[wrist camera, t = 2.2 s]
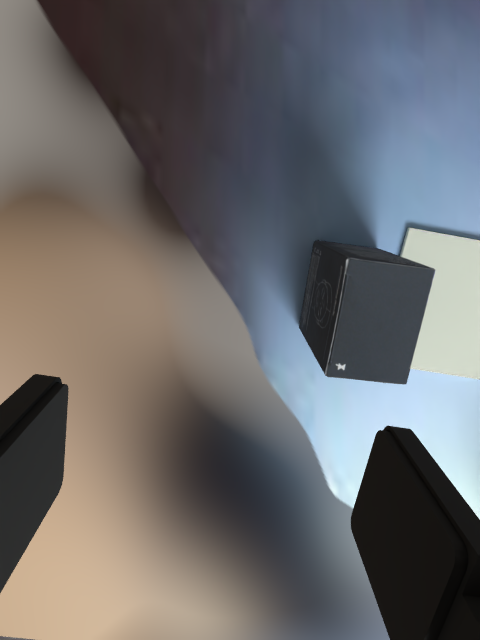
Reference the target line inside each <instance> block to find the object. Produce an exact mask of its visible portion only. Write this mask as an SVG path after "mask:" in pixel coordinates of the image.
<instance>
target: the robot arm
mask: <svg viewBox="0 0 480 640" xmlns="http://www.w3.org/2000/svg"><path fill="white" fill-rule="evenodd" d="M67 405H68V386H67V385H66V384H62V382H61V379H60V378H59V377H52V376H46V375H39V374H35V375H33V376H32V377H31V378H30V379H29V380H27V381H26V382H25V383H24V384H23V385H22V386H21V387H20V388H19V389H18V390H16V391H15V392H14V393H13V394H12V395H11V396H10V397H9V398H8V399H7V400H5V401H4V402H3V403H2V404H1V405H0V593H1V591H2V589H3V588H4V586H5V584H6V582H7V580H8V579H9V577H10V576H11V573H12V572H13V570H14V569H15V567H16V565H17V563H18V562H19V560H20V558H21V557H22V555H23V553H24V552H25V550H26V548H27V546H28V545H29V543H30V541H31V539H32V538H33V536H34V534H35V532H36V531H37V529H38V528H39V526H40V524H41V522H42V520H43V519H44V517H45V515H46V514H47V512H48V510H49V509H50V507H51V505H52V503H53V502H54V500H55V498H56V496H57V495H58V493H59V490H60V488H61V485H62V481H63V472H64V455H65V439H66V421H67ZM351 529H352V533H353V536H354V539H355V541H356V544H357V547H358V550H359V553H360V556H361V558H362V561H363V564H364V567H365V570H366V572H367V575H368V578H369V581H370V584H371V587H372V589H373V592H374V595H375V598H376V601H377V604H378V607H379V609H380V612H381V615H382V618H383V621H384V624H385V626H386V629H387V632H388V635H389V638H390V640H480V520H479V518H478V517H477V516H476V514H475V513H474V512H473V510H472V509H471V508H470V506H469V505H468V504H467V502H466V501H465V500H464V499H463V497H462V496H461V495H460V493H459V492H458V491H457V489H456V488H455V487H454V485H453V484H452V483H451V481H450V480H449V479H448V477H447V476H446V475H445V473H444V472H443V471H442V469H441V468H440V467H439V466H438V464H437V463H436V462H435V460H434V459H433V458H432V456H431V455H430V454H429V452H428V451H427V450H426V448H425V447H424V446H423V444H422V443H421V442H420V440H419V439H418V438H417V436H416V435H415V434H414V432H413V431H412V430H411V429H406V428H400V427H393V426H386V427H385V428H384V430H383V431H381V430H379V431H378V432H377V434H376V436H375V439H374V443H373V446H372V449H371V453H370V456H369V459H368V463H367V466H366V469H365V472H364V476H363V479H362V482H361V486H360V489H359V492H358V495H357V499H356V502H355V505H354V509H353V512H352V516H351ZM0 640H33V639H23V638H12V637H3V636H0Z"/></svg>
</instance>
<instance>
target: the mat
mask: <svg viewBox="0 0 480 640" xmlns="http://www.w3.org/2000/svg"><path fill="white" fill-rule="evenodd" d="M400 257H403V258H406V259H409V260H412V261H415V262H417V263H420V264H423V265H425V266H428V267H431V268H434V269H435V270H436V272H435V275H434V279H433V282H432V286H431V290H430V294H429V298H428V302H427V305H426V309H425V313H424V317H423V321H422V325H421V329H420V332H419V336H418V340H417V344H416V348H415V352H414V356H413V360H412V363H411V367H410V369H417V370H423V371H429V372H436V373H442V374H448V375H455V376H461V377H467V378H473V379H480V240H474V239H469V238H463V237H458V236H452V235H447V234H441V233H436V232H430V231H425V230H419V229H414V228H407V232H406V236H405V239H404V243H403V246H402V250H401V253H400Z"/></svg>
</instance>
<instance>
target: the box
mask: <svg viewBox="0 0 480 640" xmlns="http://www.w3.org/2000/svg"><path fill="white" fill-rule="evenodd" d="M435 272H436V270H435V269H434V268H431V267H428V266H425V265H423V264H420V263H417V262H415V261H412V260H409V259H406V258H403V257H400V256H397V255H395V254H392V253H389V252H386V251H384V250H381V249H378V248H370V247H363V246H356V245H348V244H342V243H334V242H327V241H320V240H317V241H315V242H314V245H313V250H312V256H311V261H310V266H309V272H308V278H307V284H306V289H305V295H304V301H303V307H302V312H301V318H300V324H299V329H300V330H301V332H302V334H303V336H304V337H305V339H306V341H307V343H308V345H309V347H310V348H311V350H312V352H313V354H314V356H315V358H316V359H317V361H318V363H319V365H320V367H321V368H322V370H323V372H324V374H325V376H327V377H336V378H346V379H355V380H365V381H374V382H383V383H394V384H406V383H407V379H408V375H409V371H410V367H411V363H412V360H413V356H414V352H415V348H416V344H417V340H418V336H419V332H420V329H421V325H422V321H423V317H424V313H425V309H426V305H427V302H428V298H429V294H430V290H431V286H432V282H433V279H434V275H435Z"/></svg>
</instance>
